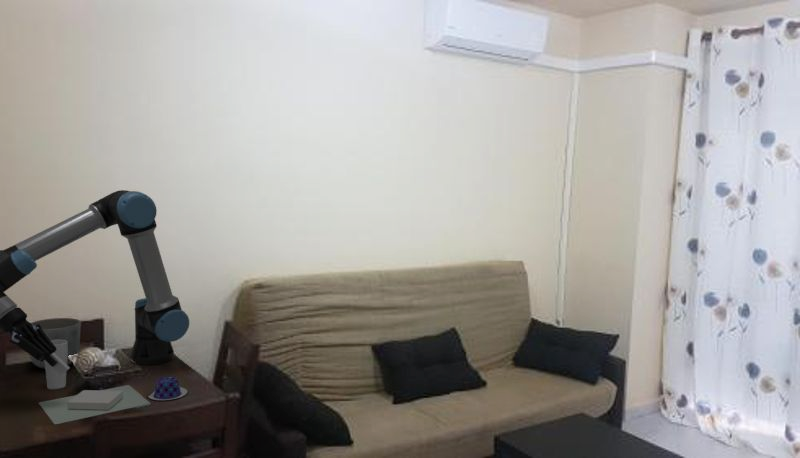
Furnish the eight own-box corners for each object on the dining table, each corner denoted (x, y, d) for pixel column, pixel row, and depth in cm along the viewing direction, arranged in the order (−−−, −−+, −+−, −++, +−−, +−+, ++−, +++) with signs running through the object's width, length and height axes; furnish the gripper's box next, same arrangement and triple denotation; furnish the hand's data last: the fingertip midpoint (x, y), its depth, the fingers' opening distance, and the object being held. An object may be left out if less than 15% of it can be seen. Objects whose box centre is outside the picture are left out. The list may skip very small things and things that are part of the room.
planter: (69, 355, 235) (68, 315, 234) (90, 365, 224) (89, 323, 223) (19, 365, 222) (18, 323, 220) (39, 376, 211) (38, 332, 210)
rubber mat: (128, 386, 204) (128, 384, 204) (150, 405, 189) (150, 403, 189) (38, 404, 187) (38, 402, 187) (54, 426, 172) (54, 424, 172)
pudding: (172, 404, 191) (172, 387, 191) (138, 399, 194) (138, 383, 194) (194, 391, 203) (194, 375, 202) (162, 387, 206) (162, 371, 205)
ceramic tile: (66, 402, 182) (108, 403, 183) (83, 390, 192) (122, 391, 193) (67, 409, 183) (108, 410, 183) (83, 397, 193) (123, 398, 193)
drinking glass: (39, 389, 200) (38, 343, 198) (59, 383, 206) (58, 338, 204) (53, 393, 197) (52, 346, 195) (73, 386, 203) (72, 341, 201)
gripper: (11, 318, 191) (67, 372, 193) (-16, 329, 178) (44, 387, 180) (28, 301, 191) (84, 356, 193) (2, 311, 178) (63, 370, 180)
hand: (65, 371), depth 187 cm, fingers closed
